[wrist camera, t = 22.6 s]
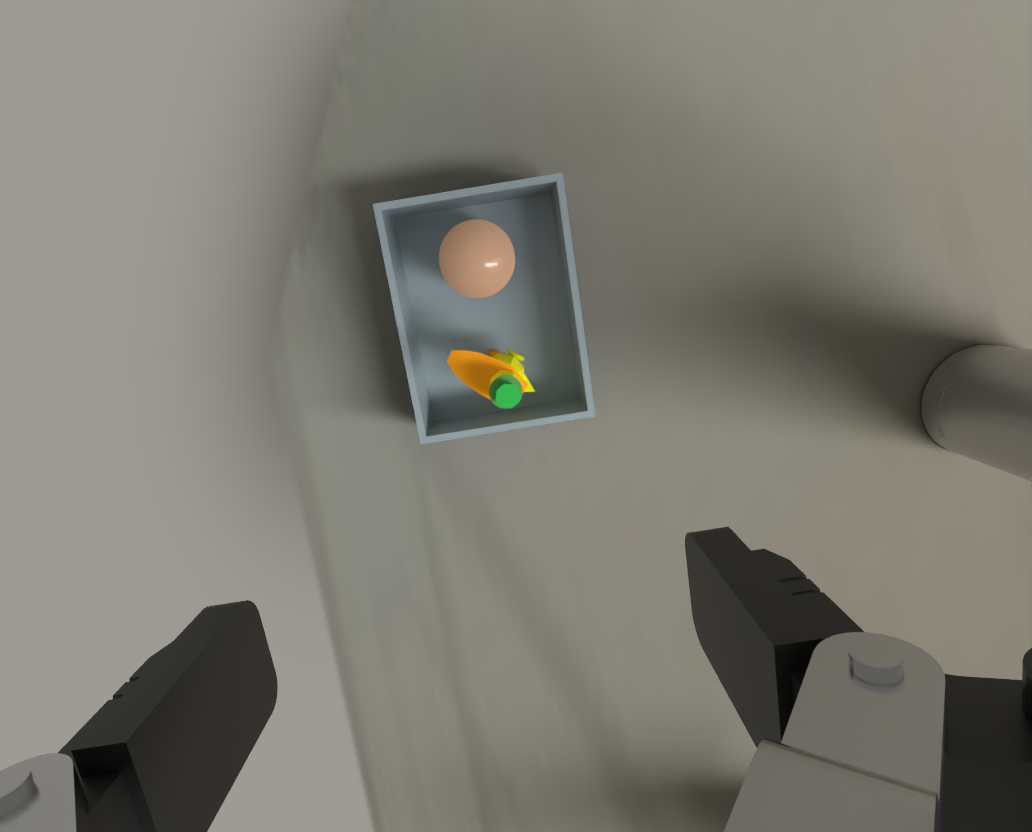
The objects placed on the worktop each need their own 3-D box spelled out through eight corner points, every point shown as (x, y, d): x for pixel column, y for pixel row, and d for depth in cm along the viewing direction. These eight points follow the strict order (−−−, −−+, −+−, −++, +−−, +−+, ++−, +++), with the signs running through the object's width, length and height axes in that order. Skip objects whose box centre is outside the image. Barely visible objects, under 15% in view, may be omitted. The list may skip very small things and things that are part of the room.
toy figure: (447, 362, 48) (431, 388, 36) (467, 322, 47) (458, 336, 35) (521, 400, 48) (530, 438, 37) (543, 362, 48) (558, 388, 36)
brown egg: (492, 211, 45) (488, 203, 38) (526, 269, 46) (529, 271, 39) (436, 248, 46) (423, 246, 39) (472, 304, 47) (465, 312, 40)
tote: (556, 185, 45) (562, 172, 40) (585, 402, 49) (595, 416, 44) (388, 213, 46) (372, 203, 40) (430, 427, 49) (420, 444, 44)
